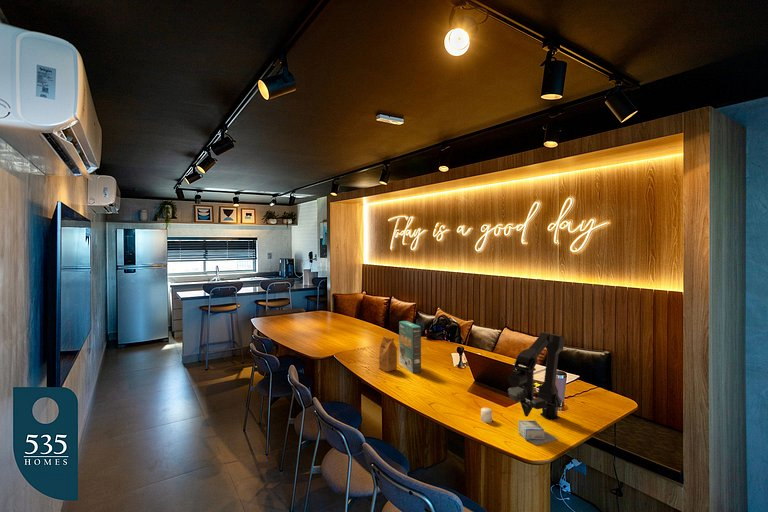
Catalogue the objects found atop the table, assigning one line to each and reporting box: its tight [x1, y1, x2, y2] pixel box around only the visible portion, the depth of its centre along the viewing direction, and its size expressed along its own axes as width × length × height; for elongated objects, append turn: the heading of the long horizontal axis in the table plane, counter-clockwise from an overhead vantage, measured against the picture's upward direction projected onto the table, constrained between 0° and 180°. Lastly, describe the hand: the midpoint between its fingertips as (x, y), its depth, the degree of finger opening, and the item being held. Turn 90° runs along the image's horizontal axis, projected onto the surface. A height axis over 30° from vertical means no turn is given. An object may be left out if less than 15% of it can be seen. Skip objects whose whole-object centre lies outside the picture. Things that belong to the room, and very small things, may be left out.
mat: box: [518, 430, 559, 446], centre depth 157 cm, size 12×10×1 cm
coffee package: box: [378, 335, 398, 373], centre depth 247 cm, size 10×12×22 cm
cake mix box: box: [398, 320, 422, 374], centre depth 250 cm, size 22×6×30 cm, turn 22°
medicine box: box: [517, 420, 545, 441], centre depth 158 cm, size 8×4×9 cm
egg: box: [480, 407, 493, 424], centre depth 173 cm, size 5×5×5 cm
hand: (526, 416), depth 164 cm, fingers closed
